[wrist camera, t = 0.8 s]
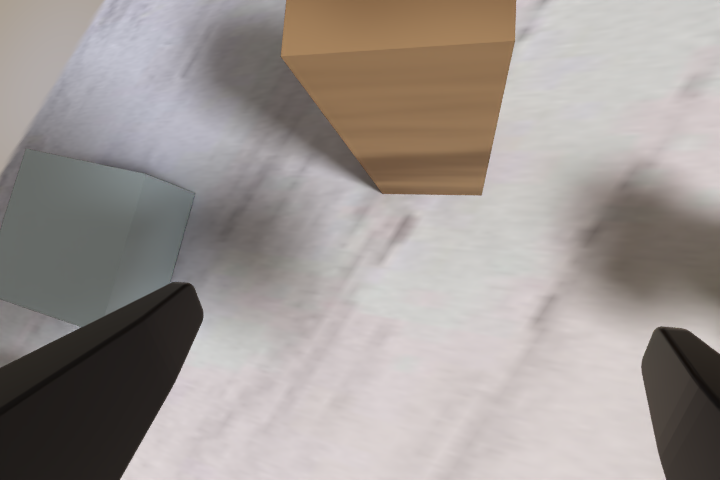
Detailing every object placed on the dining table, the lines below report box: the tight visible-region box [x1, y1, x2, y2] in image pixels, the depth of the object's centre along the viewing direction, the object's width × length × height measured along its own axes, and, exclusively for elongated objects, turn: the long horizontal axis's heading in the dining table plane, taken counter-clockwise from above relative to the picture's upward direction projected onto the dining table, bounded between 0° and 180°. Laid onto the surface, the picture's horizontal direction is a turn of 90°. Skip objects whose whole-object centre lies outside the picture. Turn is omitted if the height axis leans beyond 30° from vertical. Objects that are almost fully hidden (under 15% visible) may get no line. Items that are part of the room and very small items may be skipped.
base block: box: [0, 149, 195, 327], centre depth 23 cm, size 8×8×4 cm
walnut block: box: [281, 0, 516, 195], centre depth 15 cm, size 5×5×13 cm
